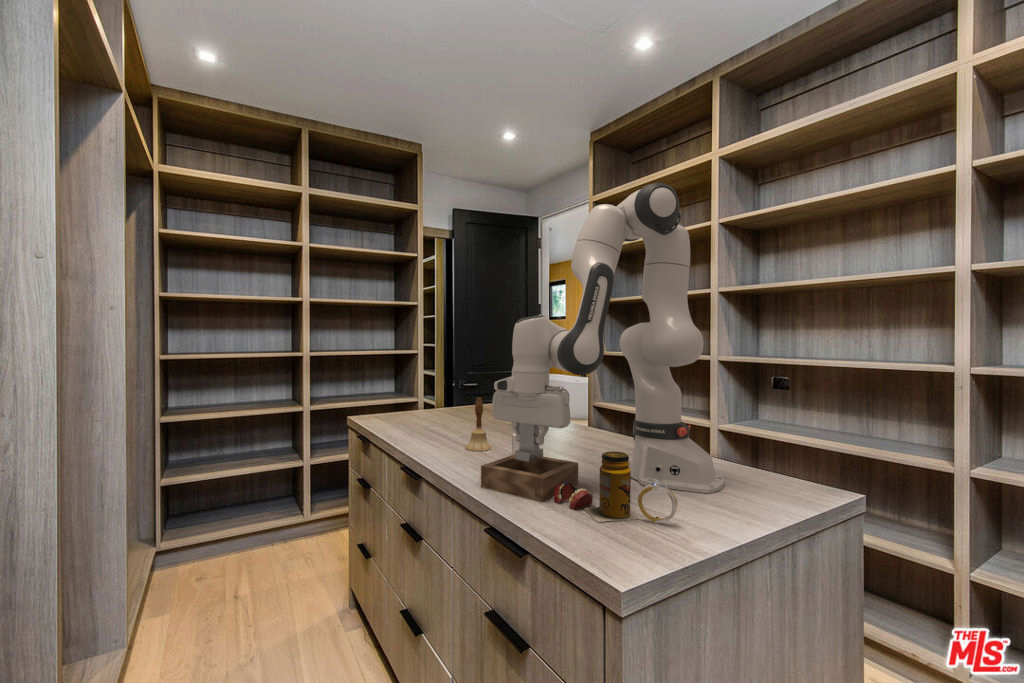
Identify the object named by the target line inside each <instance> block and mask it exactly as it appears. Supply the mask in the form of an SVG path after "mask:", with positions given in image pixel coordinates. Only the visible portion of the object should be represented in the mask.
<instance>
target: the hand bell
mask: <svg viewBox="0 0 1024 683" xmlns="http://www.w3.org/2000/svg"><path fill="white" fill-rule="evenodd" d="M474 412H475V417H476V421H475V422H476V423H475V426H476V427H475V429H474V430H472V431H471V435H470V439H469V442H468V443H467V445H466V446H465V450H467V451H470V452H487V451H490V450H492V449H491V448H492V445H491V444H490V443H489V441H488V439H487V432H486V431H485V430H484V429H482V428H483V427H482V416H483V412H484V404H483V400H482V397H477V398H476V402H475V405H474ZM486 450H487V451H486Z"/></svg>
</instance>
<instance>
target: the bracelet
mask: <svg viewBox="0 0 1024 683" xmlns="http://www.w3.org/2000/svg"><path fill="white" fill-rule="evenodd" d="M664 483H665V482H663V483H662V481H661V480H660V482H659V481H658V480H657V479H656V481H655V482H653V483H652V480H651V481H650V484H648V485H644V487H643V488H642V489H641V490H640V492H639V494H638V496H637V505H638V507H639V511H640V512H641V513H642V515H643V516H644V517H645V518H647V519H648V520H649V521H650V522H653V523H654V524H658V525H659V524H662V523H663V524H664V523H666V522H669V521H670V520H671V519H673V517H674V516H675V514H676V512H677V509H678V508H677V507H678V501H677V500H678V499H677V498H676V495H675V493H674V492H673V491H672V489H670V488H667V485H668V484H666V485H665V486H664ZM653 490H659V491H660V490H661V491H662V492H665V493H666V494H667V495H668V497H669V499H670V501H671V507H672V508H671V511H670V513H669V515H668V516H666V517H663V518H662V517H660V516H653V515H651V514H650V513H649V512H648V511H647V510H646V508H645V506H644V502H643V501H644V500H643V498H644V496H645V494H647V493H649V492H652V491H653Z"/></svg>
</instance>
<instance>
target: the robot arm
mask: <svg viewBox="0 0 1024 683" xmlns="http://www.w3.org/2000/svg"><path fill="white" fill-rule="evenodd" d="M680 207H681V206H680V200H679V198H678V195H677V192H676V191H675V190H674V188H672V187H671V186H670V185H669V184H667V183H663V182H656V183H655V182H654V183H650V184H647V185H645V186H643V187H641V189H638V190H636V191H634V192H632V193H631V194H629V195H628V196H627V197H626V198H625V199H623V201H621V202H620V203H618V204H617V205H614V204H609V203H603V204H598V205H596V206H594V207H593V208H591V210H590V211H589V213H588V215H587V217H586V219H585V220H584V222H583V224H582V227H581V229H580V231H579V234H578V236H577V239H576V242H575V244H574V248H573V253H572V258H571V266H570V267H571V271H572V273H573V275H574V276H575V278H576V279H577V280H578V281H579V282H580V283H581V285H582V294H581V299H580V303H579V306H578V310H577V314H576V319H575V322H574V325H573V326H572V327H571V329H567V328H565V327H562V326H561V325H558V324H556V323H555V322H553V321H552V320H550V319H549V318H548V317H547V316H546V315H532V316H527V317H522V318H520V319H518V320H517V321H516V322H515V325H514V328H513V331H512V332H513V333H512V347H511V348H512V349H511V350H512V351H511V354H512V359H513V366H512V368H511V376H508V377H505V378H502V379H499V380H496V381H494V384H493V388H494V390H495V392H493V396H492V401H491V402H492V403H491V406H492V407H491V413H492V417H493V419H494V420H497V421H504V422H510V423H511V428H512V430H513V433H514V432H515V434H516V441H519V436H520V423H524V424H531V425H539V430H540V434H539V436H536V437H535V444H537V445H539V446H543V445H544V444H545V436H546V435H547V433H548V432H549V428H554V429H564V428H567V427H569V425H570V424H571V409H570V408H571V407H570V392H569V391H568V390H567V389H566V388H565V387H563V386H555V385H550V369H551V368H555V369H558V370H562V371H565V372H568V373H571V374H573V375H575V376H586V375H589V374H591V373H593V372H594V371H596V370H597V369H598V368H599V367H600V366H601V364H602V362H603V359H604V355H605V348H604V347H605V346H604V329H605V324H606V320H607V315H608V311H609V306H610V302H611V299H612V298H611V297H612V293H613V289H614V288H613V287H614V282H615V272H616V268H617V266H618V262H619V259H620V255H621V251H622V250H623V249H622V248H623V245H624V242H635V241H638V240H639V239H642V241H643V243H644V248H645V258H644V263H643V264H644V265H643V273H642V274H643V276H642V282H641V283H642V284H641V292H640V293H641V296H640V297H641V298H642V300H643V301H644V303H645V304H646V306H647V309H648V312H649V322H640V323H636V324H634V325H632V326H629V327H627V328H626V329H625V330H623V332H622V334H621V336H620V339H619V348H620V351H621V353H622V355H623V356H624V358H625V359H626V360H627V362H628V365H629V368H630V372H631V375H632V381H633V384H634V393H635V394H634V395H635V418H634V419H633V427H632V431H633V432H632V433H633V441H634V444H633V451H632V459H631V464H630V466H629V468H630V470H631V478H632V479H634V480H636V481H638V483H639V484H641V485H643V486H646V485H648V484H650V481H651V480H652V483H653V482H655V481H656V479H657V480H658V481H659V482H660V480H661V481H662V483H663V482H665V483H664V486H665V485H666V484H668V485H667V488H668V489H670V490H677V491H678V490H679V491H685V492H686V491H687V492H694V493H695V492H696V493H703V494H712V493H715V492H718V491H720V490H722V489H723V488H724V486H725V477H723V476H722V475H720V474H716V471H715V465H714V461H713V457H712V456H711V455H710V453H709V452H707V451H705V450H704V449H703V448H702V447H700V445H698V444H697V443H696V442H695V441H693V440H692V439H691V438H690V431H691V424H688V425H687V424H686V423H685V422H683V421H682V391H681V388H680V387H679V385H678V384H677V382H675V380H674V378H673V375H672V373H671V370H670V367H671V368H677V367H683V366H686V365H690V364H693V363H695V362H696V361H698V360H699V358H700V357H701V356H702V353H703V350H704V337H703V335H702V332H701V330H700V329H699V328H698V327H696V325H695V324H694V321H693V320H692V316H691V313H690V309H689V303H688V289H689V279H690V267H691V241H690V234H689V231H688V229H686V227H684V226H682V225H681V224H680V221H681V218H682V215H681V212H680V210H681V208H680Z"/></svg>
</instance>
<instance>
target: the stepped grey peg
mask: <svg viewBox="0 0 1024 683" xmlns="http://www.w3.org/2000/svg"><path fill="white" fill-rule="evenodd" d="M540 432H541V430H539V425H531V424H524V423H520V436H519V450H516V451H515V459H516V460H521V461H527V462H531V461H533V460H536V459H539V458H542V457H544V448H541V447H540V445H537V444H535V437H536V436H539V434H540Z"/></svg>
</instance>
